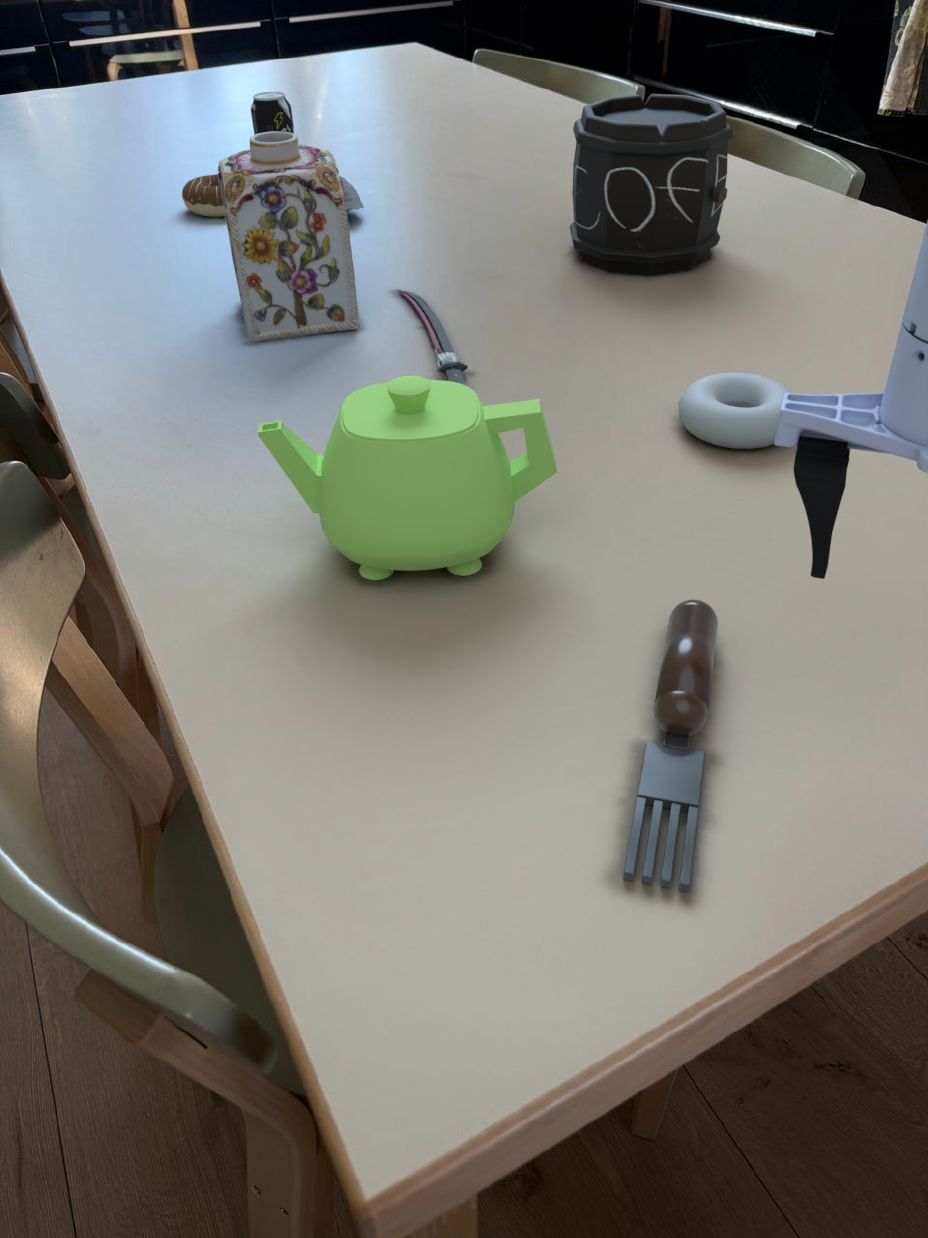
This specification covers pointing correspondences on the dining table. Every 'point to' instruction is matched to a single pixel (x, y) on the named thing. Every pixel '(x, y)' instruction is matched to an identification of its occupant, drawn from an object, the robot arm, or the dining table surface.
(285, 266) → the decorative jar
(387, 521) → the teapot
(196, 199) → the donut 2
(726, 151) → the wooden barrel
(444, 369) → the sword
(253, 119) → the beverage can
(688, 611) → the fork
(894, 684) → the dining table surface
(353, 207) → the seashell
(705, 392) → the donut
